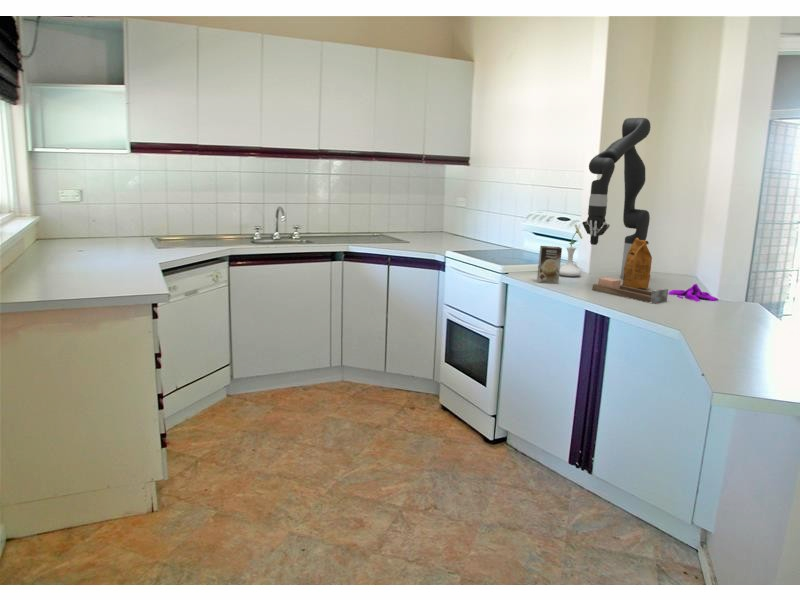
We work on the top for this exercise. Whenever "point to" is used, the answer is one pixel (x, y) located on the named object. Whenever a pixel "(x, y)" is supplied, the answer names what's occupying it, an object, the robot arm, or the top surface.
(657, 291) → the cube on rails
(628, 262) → the coffee package
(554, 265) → the coffee box
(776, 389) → the top surface
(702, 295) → the cloth
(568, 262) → the flower in vase
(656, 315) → the top surface
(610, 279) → the block
